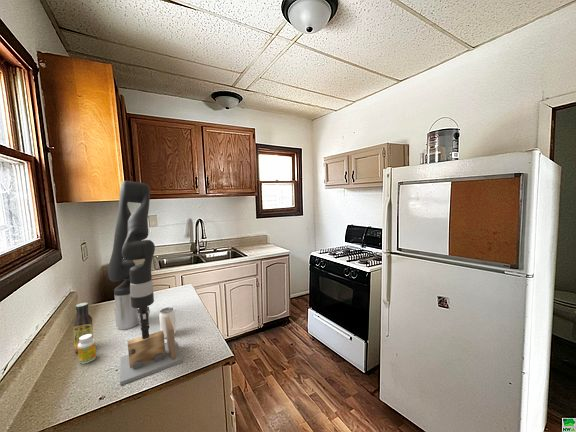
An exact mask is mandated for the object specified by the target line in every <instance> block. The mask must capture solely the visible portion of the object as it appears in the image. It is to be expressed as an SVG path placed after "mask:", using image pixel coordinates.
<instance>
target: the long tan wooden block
mask: <svg viewBox="0 0 576 432" xmlns="http://www.w3.org/2000/svg"><path fill="white" fill-rule="evenodd" d="M165 343H166V342H165V338H164V333H163V331H157V332H153V333H149V338H146V339H142V336H140V337H139V336H138V337H136V338H132V339H129V340H127V350H128V351H127V352H128V353H127V354H128V355H129V364H130V368H131V367H133V363H134V362H137V361H140V360H142V361H143V363H145V362H148V361H150V360H153V359H155V357H154V356H155V355H158V354H161V353H163V356H165Z"/></svg>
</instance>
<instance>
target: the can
mask: <svg viewBox="0 0 576 432" xmlns="http://www.w3.org/2000/svg"><path fill="white" fill-rule="evenodd" d="M166 317H169V318H170V320H171V323H172V326H173V328H174V336H175V335H176V333H177V329H176V328H177V327H176V313H175V310H174V307H170V306H169V307H165V308H162V309H160V311H159V315H158V319H159V330H160V331H163V333H164V339H167V335H166V322H165V318H166Z"/></svg>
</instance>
